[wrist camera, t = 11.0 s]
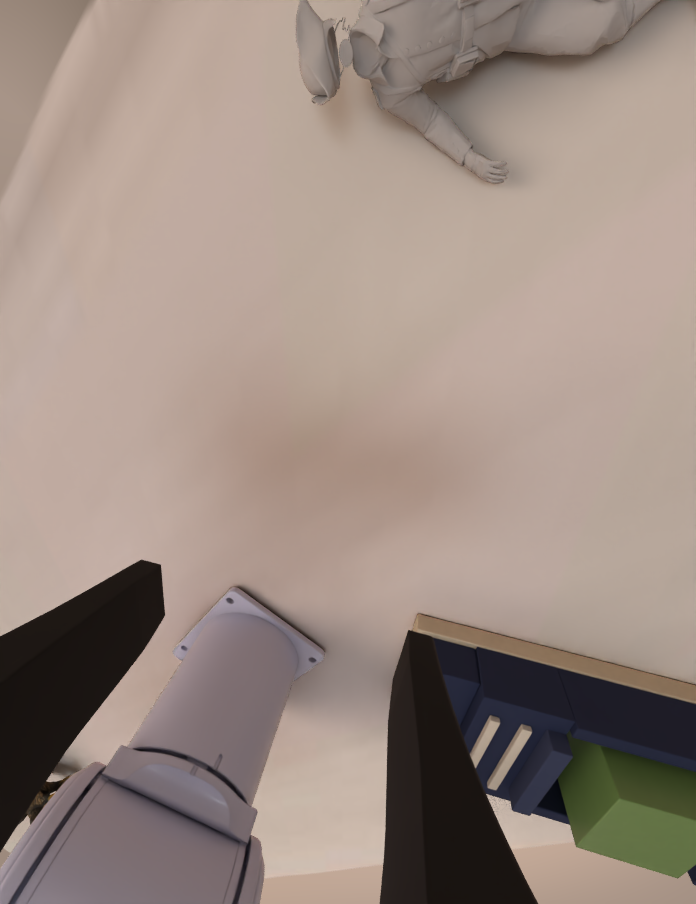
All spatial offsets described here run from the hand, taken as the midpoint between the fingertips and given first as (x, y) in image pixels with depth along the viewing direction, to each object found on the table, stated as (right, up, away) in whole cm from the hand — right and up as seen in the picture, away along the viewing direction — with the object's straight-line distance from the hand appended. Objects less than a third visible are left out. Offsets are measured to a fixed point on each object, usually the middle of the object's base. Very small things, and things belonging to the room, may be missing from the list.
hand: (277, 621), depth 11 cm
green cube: (+17, -12, +12) cm, 24 cm away
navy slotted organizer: (+14, -11, +13) cm, 22 cm away
